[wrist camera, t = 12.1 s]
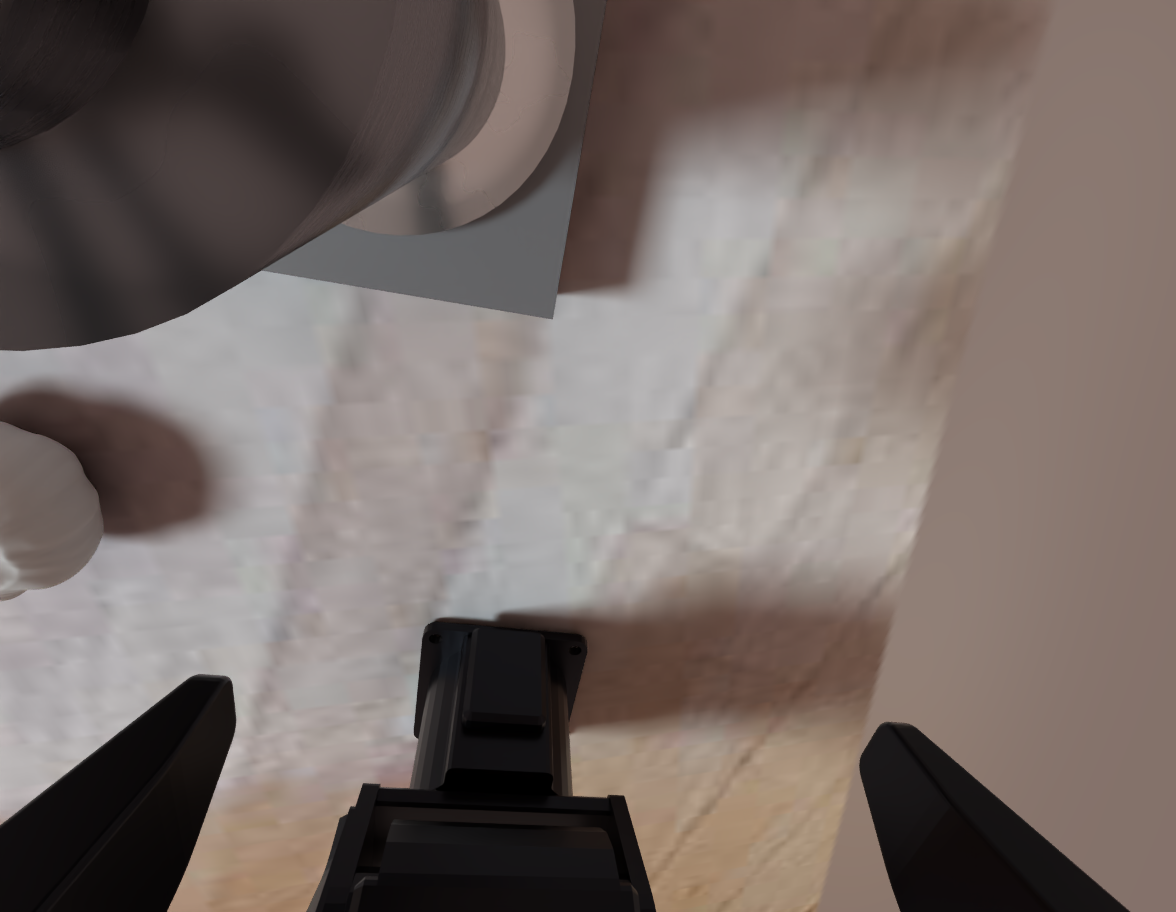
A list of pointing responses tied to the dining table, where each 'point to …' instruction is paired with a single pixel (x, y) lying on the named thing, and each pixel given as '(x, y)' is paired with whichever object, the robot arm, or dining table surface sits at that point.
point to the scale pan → (494, 130)
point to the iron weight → (211, 142)
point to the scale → (479, 225)
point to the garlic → (43, 513)
